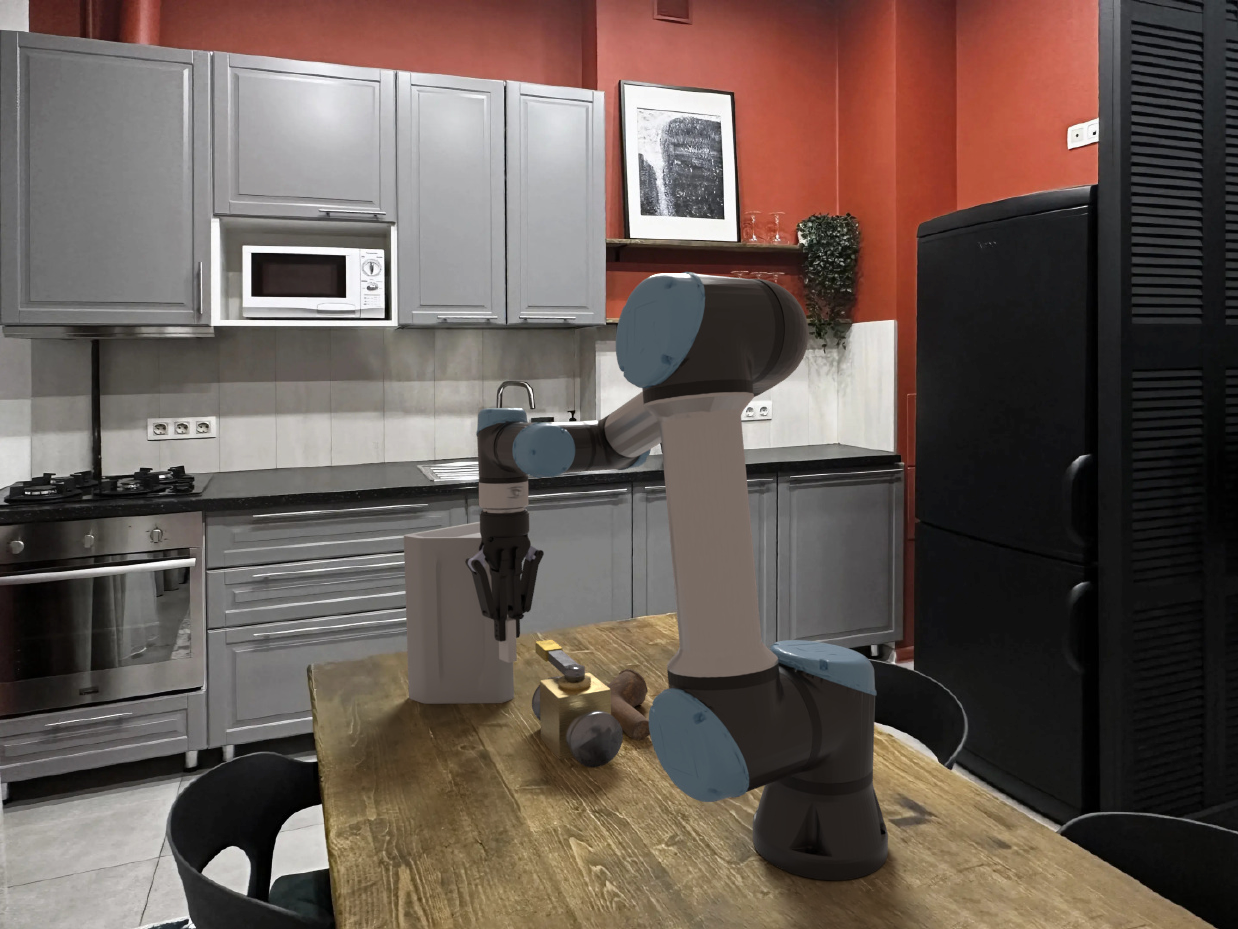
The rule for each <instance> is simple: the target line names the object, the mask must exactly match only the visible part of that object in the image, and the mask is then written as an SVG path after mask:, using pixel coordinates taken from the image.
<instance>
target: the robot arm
mask: <svg viewBox="0 0 1238 929" xmlns="http://www.w3.org/2000/svg"><path fill="white" fill-rule="evenodd" d="M808 324H809V323H808V320H807V316H806V314H805V311H804V309H803V307H802V305H801V304H800V302H799V301H798V300H797V298H796V297H795V295H793V294H792V293H791V292H790V291H788V290H787V289H786V288H785V287H783V286H781V285H779V284H778V283H775V282H773V281H770V280H766V279H760V278H741V277H729V276H720V275H709V274H704V273H703V274H702V273H695V272H691V271H684V272H681V273H663V272H662V273H657V274H653V275H650V276H648V277H647V278H645V279H643V280H642V281H641V282H639V284H637V285H636V286H635V288H634V289H633V291H631V293H630V295H629V296H628V298H627V300H626V303H625V305H623V307H622V309H621V313H620V315H619V318H618V323H617V327H616V334H615V356H616V361H617V365H618V367H619V370H620V371H621V372H623V377H624V378H625V380H626V381H627V382H629V383H630V384H631V385H633V386H635V387H636V388H638V389H639V388H640V389H641V390H642V391H641V392H639V393H638V394H637V395H635V396H634V397H632V398H631V399H629V400H628V401H626V402H624V404H622V405H621V406H620V407H618V408H617V409H616V410H614V411H612V412H611V413H609V414H608V415H606V416H605V417H602V419H598V420H597V419H596V420H594V419H593V420H576V421H550V422H549V421H547V422H546V421H545V422H539V421H538V422H529V421H528V416H527V412H526V411H525V409H523V408H520V407H496V408H495V407H494V408H490V407H489V408H483V409H481V410H480V411H479V412H478V414H477V429H476V432H475V434H476V439H477V465H478V466H477V467H478V468H477V469H478V506H479V507H480V509H482V510H481V511H480V512H479V522H480V534H481V538H482V540H481V544H480V546H479V552H478V553H477V554H476V555H475V556H474V557H473V558H467V559H466V561H465V563H466V565H467V567H468V568H469V569H470V571H471V572H472V576H473V580H474V584H475V588H476V592H477V596H478V600H479V604H480V608H481V612H482V615H483V616H485V617H488V618H490V619H493V620H494V637H495V639H496V640H497V641H499V659H501V660H503V661H505V662H508V663H510V662H513V663H515V662H517V661H518V659H517V658H518V657H517V652H518V651H517V639H518V638H520V637H521V620H522V619H524V617H525V613H529V612H531V610H532V606H533V605H532V604H533V599H534V594H535V587H536V583H537V582H536V581H537V576H538V571H539V570H538V569H539V565H540V563H541V561H542V558H543V557H544V555H545V553H544V551H543V550H541V549H537V548H536V547H534V546H533V545H531V540H530V538H529V532H530V511H528V509H527V507H528V506H529V476H531V477H532V476H533V477H534V478H537V479H542V478H555V477H559V476H561V475H562V474H574V473H584V472H585V473H586V472H597V471H598V472H599V471H613V470H615V471H625V470H628V469H634V468H639V467H640V466H643V465H644V464H645V463H646V462H647V458H648V457H649V456H650V455H651V454H650V453H651V449H653V448H655V447H656V446H658V445H660V444H661V452H662V461H663V462H662V463H663V464H662V465H663V473H664V474H663V475H664V484H665V495H666V508H667V517H668V518H667V520H668V530H669V540H670V541H669V542H670V553H671V561H672V563H671V564H672V574H673V576H672V577H673V586H674V596H675V597H674V598H675V608H676V610H675V611H676V618H677V629H678V632H677V633H678V642H679V644H678V645H679V648H678V650H677V651H676V652H675V654H674V655H672V658H671V659H670V660H669V661H668V662H667V665H666V666H667V667H666V669H667V682H668V688H665V689H664V690H662V691H661V692H660V693H659V694H657V695H656V696H655V697H654V699H653V700H652V702H651V703H652V705H651V706H650V707H649V710H648V721H649V731H650V735H649V736H650V740H651V743H652V744H651V745H652V747H653V750H654V752H655V755H656V758H657V760H658V761H659V763H660V765H661V767H662V769H663V770H664V772H666V774H667V776H668V778H669V779H670V781H671V782H672V783H673V784H674V785H675V786H676V787H677V788H678V789H679V790H680V791H681V792H682V793H684V794H685V795H687V796H688V797H689V798H692V799H693V800H696V801H699V802H701V803H702V802H703V803H713V802H714V803H715V802H717V801H718V802H719V801H722V800H725V799H729V798H739V797H741V796H743V795H745V794H746V793H748V792H751V791H753V790H756V789H759V788H762V787H763V786H764V787H763V790H762V792H761V795H760V796H761V797H760V799H759V802H758V807H757V808H756V811H755V812H754V815H753V819H752V843H753V846H754V848H755V849H756V851H757V853H759V855H761V857H762V858H763V859H765V860H766V861H767V862H768V863H770V864H771V865H773V866H776V867H777V868H779V869H781V870H783V871H785V872H788V873H791V874H794V875H797V876H800V877H804V878H805V877H806V878H809V879H816V880H826V881H846V880H852V879H857V878H861V877H865V876H868V875H870V874H873V873H874V872H876V871H878V870H879V869H880V868H882V867H883V865H884V864H885V862H886V861H887V858H888V854H889V851H888V850H889V834H888V833H889V832H888V830H887V825H886V823H885V819H884V816H883V813H882V810H881V806H880V803H879V799H878V797H877V794H876V790H875V787H874V753H875V752H874V750H875V747H874V746H875V741H874V740H875V717H876V716H875V714H876V713H875V712H876V711H875V710H876V696H877V690H876V686H875V685H876V683H875V682H876V681H875V669H874V666H873V664H872V663H871V661H870V659H869V658H868V657H866V656H865V655H864V654H862V653H860V652H858V651H856V650H854V649H850V648H848V647H844V646H840V645H837V644H832V643H825V642H822V641H821V642H820V641H812V640H803V639H800V640H799V639H795V640H794V639H786V640H780V641H776V642H774V643H772V645H770V648H768V647H767V646H766V645H765V644H764V642H763V640H762V631H761V621H760V620H761V619H760V612H759V611H760V609H759V608H760V607H759V599H758V596H759V595H758V587H757V577H756V566H755V555H754V542H753V534H752V532H753V531H752V523H751V522H752V521H751V509H750V500H749V489H748V478H747V467H746V457H745V455H746V454H745V447H744V446H745V445H744V434H743V433H744V432H743V424H742V415H743V412H744V410H745V409H746V408H747V407H748V405H749V404H750V403H751V401H753V399H754V398H756V397H758V396H760V395H761V394H763V393H766V392H767V391H769V390H771V389H773V388H774V387H776V386H777V385H779V384H781V383H782V382H783V381H784V380H786V379H787V378H789V377H790V376H791V375H792V374H793V373H794V372H795V371H796V370H797V368H799V366H800V365H801V363H802V361H803V360H804V356H805V355H806V351H807V349H808V344H809V338H810V337H809V336H810V335H809V334H810V332H809V325H808ZM484 559H485V561H486V562H487V563H488V565H489V572H490V575H491V586H492V592H491V588H490V584H489V580H488V576H487V572H486V570H485V568H484V567H485V566H486V564H485V562H484ZM507 615H508V617H507Z"/></svg>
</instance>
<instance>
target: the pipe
mask: <svg viewBox="0 0 1238 929" xmlns="http://www.w3.org/2000/svg"><path fill="white" fill-rule="evenodd" d="M606 686H607V687H608V688H610V689H611V715H612V716H613V717H614V718H615V719H616V720H617V721H618V722H619V723H620V725H621V728H622V732H623V733H625V735H627V736H629V737H630V738H632V739H633V740H636V741H638V740H639V741H640V740H644V739H646V738H647V737H649V736H650V731H649V718H648V719H647V718H646V717H645V716H644V715H643V714H642V713H641V712H640V711H638V710H637V709H636V708H635V707H637V706H641V705H642V704H643V703H644V702H645V700H646V697H647V693H648V691H649V690H648V686H647V683H646V680H645V679H644V677H643V676H642V675H641V674H640V672H638V671H636V670H634V669H631V668H624V669H621V671H619V673H618V675H617V676H615V677H614V678H613V679H612V680H611V681H610V682H609V683H608V684H607V685H606Z"/></svg>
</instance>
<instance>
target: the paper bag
mask: <svg viewBox="0 0 1238 929" xmlns="http://www.w3.org/2000/svg"><path fill="white" fill-rule="evenodd" d="M481 540H482V538H481V534H480V521H476V522H471V523H464V524H460V525H452V526H448V527H442V528H437V529H431V530H424V531H419V532H412V533H408V534H403V553H404V555H403V556H404V557H403V558H404V559H403V561H404V584H405V588H404V589H405V618H406V619H405V620H406V621H405V622H406V646H407V647H406V648H407V651H406V652H407V674H408V675H407V678H408V683H407V684H408V699H409V700H411V701H416V702H418V703H421V704H426V705H427V704H429V705H430V704H431V705H432V704H433V705H434V704H436V705H437V704H502V703H506V702H508V701H511V700H513V699H514V698H515V692H514V690H515V685H514V684H515V683H514V680H515V679H514V678H515V676H514V662H510V663H508V662H505V661H503V660H501V659H499V641H497V640H496V639H495V637H494V620H493V619H490V618H488V617H485V616H483V615H482V612H481V608H480V604H479V600H478V596H477V592H476V588H475V584H474V580H473V576H472V572H471V571H470V569H469V568H468V567H467V565H466V563H465V561H466V559H467V558H473V557H474V556H475V555H476V554H477V553H478V552H479V546H480V544H481ZM484 562H485V564H486V566H485V567H484V568H485V570H486V572H487V576H488V580H489V584H490V588H491V592H492V586H491V575H490V572H489V565H488V563H487V562H486V561H485V559H484ZM507 617H508V615H507Z"/></svg>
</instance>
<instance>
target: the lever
mask: <svg viewBox="0 0 1238 929" xmlns="http://www.w3.org/2000/svg"><path fill="white" fill-rule="evenodd" d="M534 644H535V654H536V655H537V656H538V657H540V658H541V659H542V660H543V661H544V662H545V663H546V662H549V663H550V664H551V665H552V666H554V668H556V669H557V670H558V671H559V672H560V673H561V674H562V675H563V676H564V679H565V680H566V681H570V682H578V681H582V680H584V679H585V673H586V671H585V670H586V667H585V666H584V665H583V664H579V663H577V661H576V660H574V659H573V658H571V656H569V654H567V653H565V651H563V650H564V648H563V647H562V646H560V645H559V644H558V643H557V642H555V641H554V640H553V639H546V640H538V641H535V643H534Z"/></svg>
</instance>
